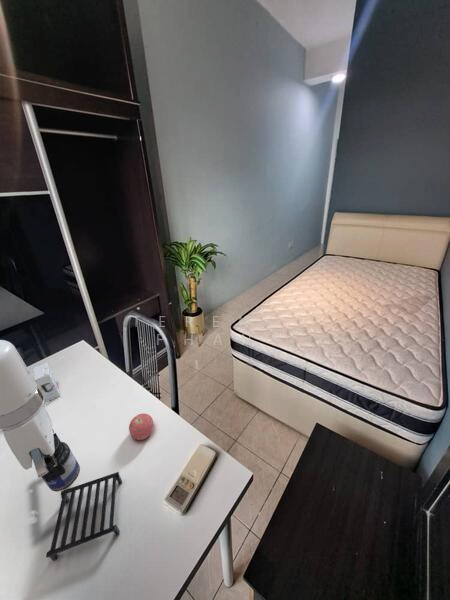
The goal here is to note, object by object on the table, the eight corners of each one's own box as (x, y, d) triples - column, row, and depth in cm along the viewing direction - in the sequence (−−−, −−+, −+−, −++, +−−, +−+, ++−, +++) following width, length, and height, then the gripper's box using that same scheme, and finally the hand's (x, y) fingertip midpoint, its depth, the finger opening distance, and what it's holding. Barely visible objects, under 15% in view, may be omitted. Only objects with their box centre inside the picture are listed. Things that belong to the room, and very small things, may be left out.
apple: (134, 449, 77) (127, 433, 73) (131, 429, 83) (125, 414, 79) (157, 438, 80) (152, 422, 76) (153, 420, 85) (148, 404, 82)
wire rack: (54, 565, 55) (45, 556, 52) (68, 500, 66) (61, 491, 63) (120, 538, 58) (115, 529, 56) (123, 481, 69) (118, 471, 67)
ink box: (44, 389, 101) (32, 367, 95) (58, 383, 103) (47, 361, 98) (46, 403, 94) (33, 380, 89) (61, 396, 97) (49, 374, 91)
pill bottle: (43, 486, 53) (20, 457, 48) (67, 458, 58) (49, 429, 53) (63, 497, 51) (42, 467, 46) (87, 467, 56) (70, 437, 51)
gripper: (-6, 385, 48) (33, 441, 56) (-18, 459, 35) (35, 516, 44) (40, 367, 52) (70, 422, 60) (44, 428, 39) (81, 487, 48)
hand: (55, 461), depth 52 cm, fingers closed on pill bottle, 6 cm apart
